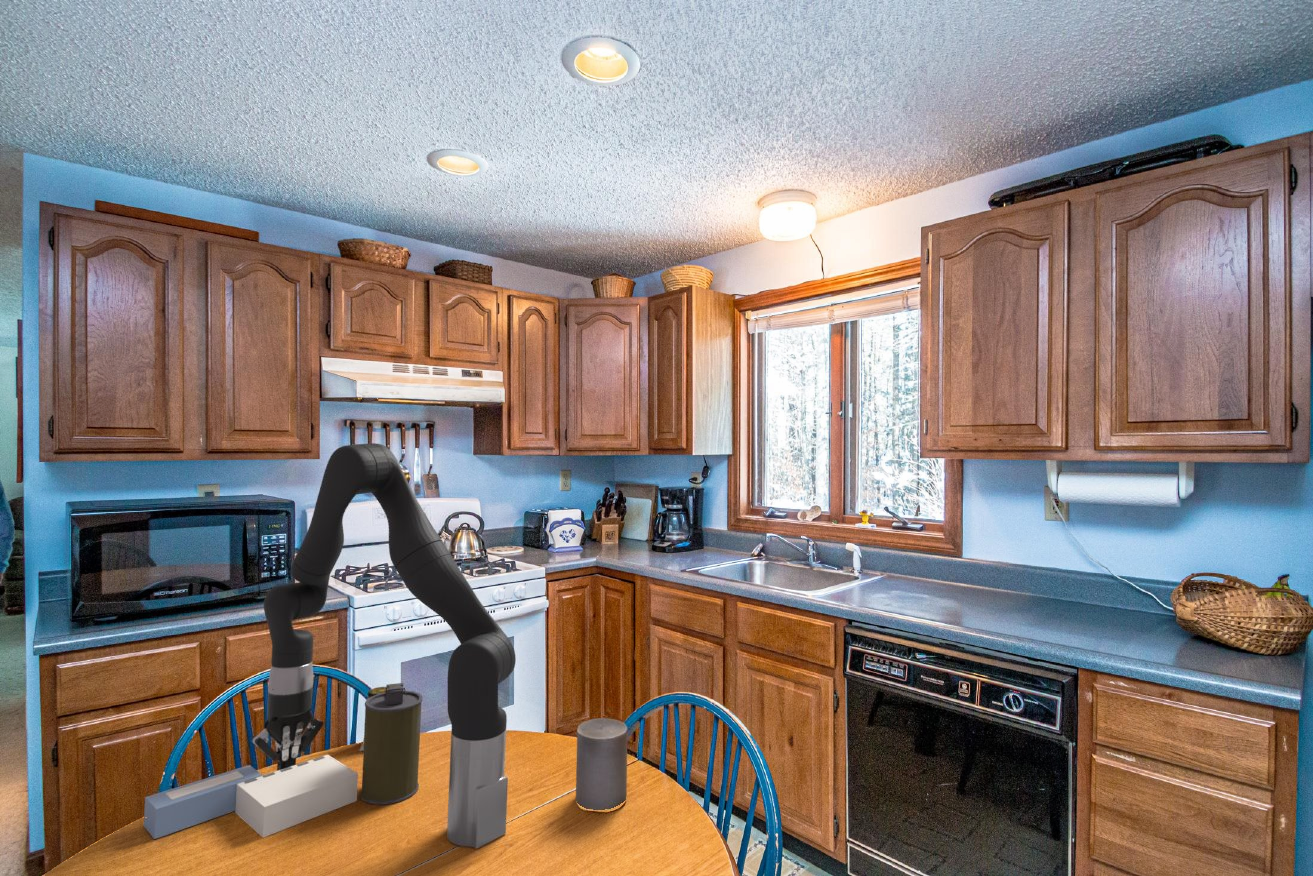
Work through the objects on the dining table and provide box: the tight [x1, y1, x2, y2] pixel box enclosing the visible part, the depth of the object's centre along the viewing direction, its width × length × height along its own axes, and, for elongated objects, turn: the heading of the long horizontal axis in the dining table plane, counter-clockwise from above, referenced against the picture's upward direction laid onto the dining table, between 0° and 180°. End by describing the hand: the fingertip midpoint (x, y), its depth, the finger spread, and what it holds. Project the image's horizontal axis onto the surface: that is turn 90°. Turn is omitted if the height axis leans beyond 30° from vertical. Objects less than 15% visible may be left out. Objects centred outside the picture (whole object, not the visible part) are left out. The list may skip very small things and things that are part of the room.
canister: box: [359, 682, 424, 806], centre depth 125 cm, size 11×10×20 cm
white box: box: [234, 754, 359, 838], centre depth 118 cm, size 12×16×5 cm
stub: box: [143, 764, 263, 840], centre depth 115 cm, size 6×16×5 cm, turn 142°
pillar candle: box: [575, 717, 628, 810], centre depth 124 cm, size 10×10×15 cm
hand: (286, 777), depth 125 cm, fingers closed
